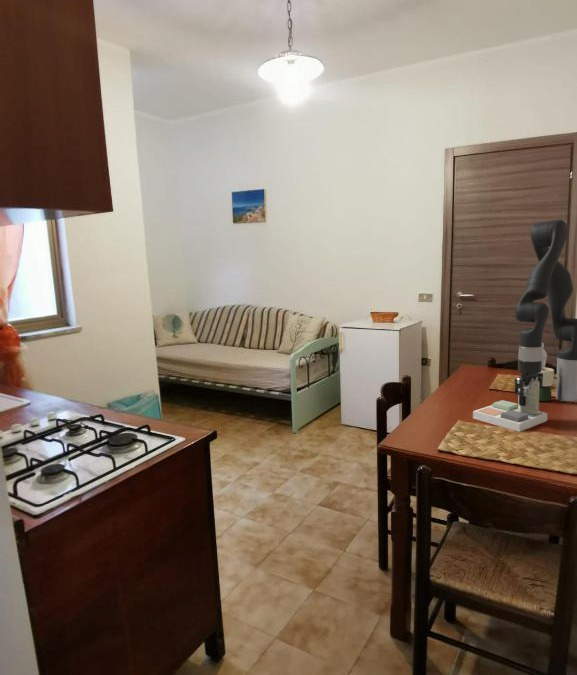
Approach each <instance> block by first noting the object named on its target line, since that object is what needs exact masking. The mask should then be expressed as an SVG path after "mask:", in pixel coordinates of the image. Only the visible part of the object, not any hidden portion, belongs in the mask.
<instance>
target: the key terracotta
mask: <svg viewBox="0 0 577 675" xmlns="http://www.w3.org/2000/svg"><path fill="white" fill-rule="evenodd" d="M479 412H482V413H485V414H489V415H493V416H496V415H499V414H501V413H504V412H503V411H499V410H495V409H491V408H486V409H483V410H480V411H479Z"/></svg>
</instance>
